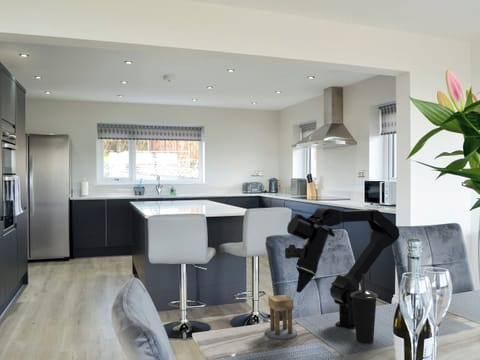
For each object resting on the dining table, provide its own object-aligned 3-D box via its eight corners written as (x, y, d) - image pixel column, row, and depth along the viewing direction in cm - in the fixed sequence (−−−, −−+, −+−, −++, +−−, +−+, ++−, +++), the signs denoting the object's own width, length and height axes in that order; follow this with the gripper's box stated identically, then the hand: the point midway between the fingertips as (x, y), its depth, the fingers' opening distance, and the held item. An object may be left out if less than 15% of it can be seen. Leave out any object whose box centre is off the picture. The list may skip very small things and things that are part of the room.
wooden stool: (286, 327, 135) (285, 294, 135) (294, 333, 129) (293, 299, 130) (268, 329, 133) (268, 296, 134) (275, 336, 128) (275, 301, 128)
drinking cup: (348, 343, 123) (347, 274, 123) (354, 334, 130) (353, 269, 130) (375, 347, 119) (374, 276, 119) (380, 338, 126) (379, 271, 126)
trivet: (277, 325, 139) (277, 324, 139) (303, 332, 132) (303, 330, 132) (258, 334, 131) (258, 332, 131) (285, 341, 124) (285, 339, 124)
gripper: (293, 238, 145) (277, 282, 143) (289, 232, 127) (271, 282, 125) (324, 250, 142) (308, 294, 140) (325, 246, 125) (307, 296, 122)
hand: (298, 291), depth 132 cm, fingers open, 9 cm apart
